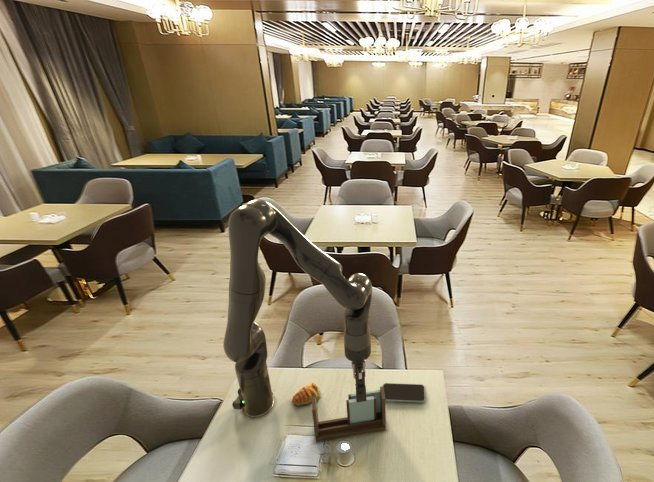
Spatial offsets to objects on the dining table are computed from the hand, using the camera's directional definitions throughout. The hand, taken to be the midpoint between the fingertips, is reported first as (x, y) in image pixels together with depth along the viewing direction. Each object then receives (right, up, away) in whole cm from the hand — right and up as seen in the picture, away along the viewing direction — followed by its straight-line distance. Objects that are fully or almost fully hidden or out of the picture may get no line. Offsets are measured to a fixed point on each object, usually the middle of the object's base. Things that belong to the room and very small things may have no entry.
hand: (358, 382), depth 106 cm
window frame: (-3, -18, +7) cm, 19 cm away
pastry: (-20, -13, +18) cm, 30 cm away
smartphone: (+14, -12, +20) cm, 27 cm away
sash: (0, -15, +7) cm, 17 cm away
